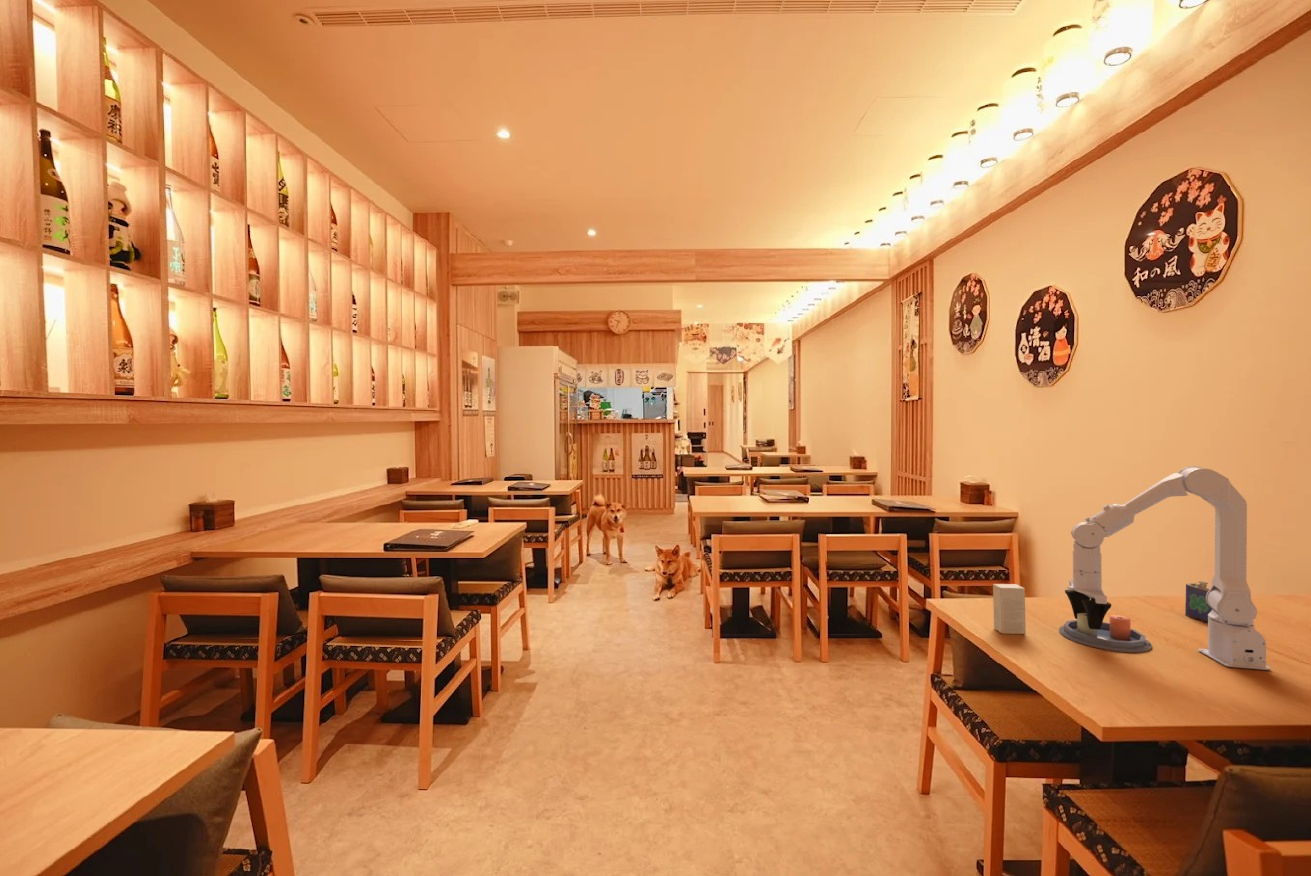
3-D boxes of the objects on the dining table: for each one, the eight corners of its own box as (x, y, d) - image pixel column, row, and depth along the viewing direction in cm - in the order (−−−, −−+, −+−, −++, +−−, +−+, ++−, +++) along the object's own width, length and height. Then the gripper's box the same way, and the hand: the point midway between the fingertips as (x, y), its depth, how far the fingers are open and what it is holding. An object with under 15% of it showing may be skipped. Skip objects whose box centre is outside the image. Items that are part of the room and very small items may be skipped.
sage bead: (1101, 638, 137) (1101, 617, 137) (1085, 638, 137) (1085, 618, 137) (1088, 632, 141) (1088, 612, 141) (1073, 632, 141) (1073, 612, 141)
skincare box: (1016, 628, 146) (1016, 583, 146) (1026, 634, 141) (1025, 588, 141) (992, 628, 146) (992, 583, 146) (1001, 634, 142) (1000, 587, 142)
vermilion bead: (1134, 641, 135) (1134, 620, 135) (1115, 639, 136) (1115, 619, 136) (1124, 635, 139) (1124, 615, 139) (1106, 634, 140) (1106, 614, 140)
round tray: (1169, 655, 127) (1169, 647, 127) (1079, 648, 132) (1078, 640, 132) (1125, 628, 145) (1125, 621, 145) (1047, 623, 149) (1047, 616, 149)
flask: (1226, 625, 146) (1225, 585, 146) (1215, 626, 146) (1215, 585, 146) (1191, 614, 156) (1190, 576, 155) (1181, 614, 155) (1180, 577, 155)
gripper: (1056, 562, 147) (1056, 613, 147) (1082, 576, 133) (1082, 632, 133) (1086, 564, 145) (1087, 615, 145) (1116, 578, 131) (1117, 634, 131)
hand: (1087, 623), depth 139 cm, fingers open, 7 cm apart
